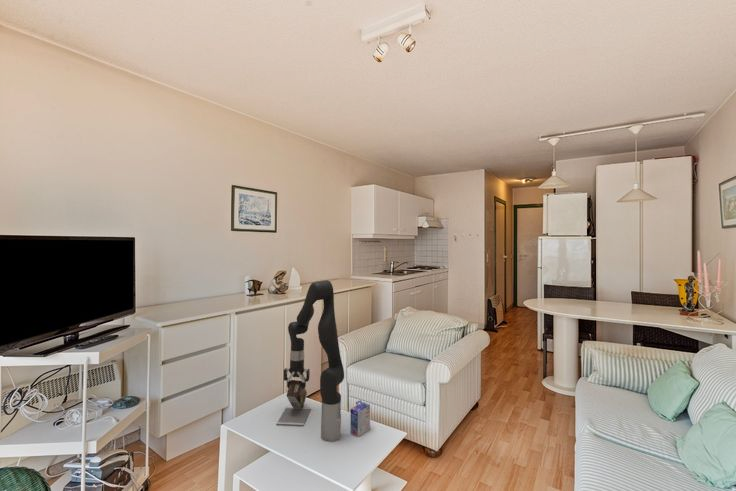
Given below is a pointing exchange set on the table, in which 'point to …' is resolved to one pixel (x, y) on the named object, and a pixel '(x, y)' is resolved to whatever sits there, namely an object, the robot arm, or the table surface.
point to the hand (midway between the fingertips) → (296, 388)
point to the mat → (293, 416)
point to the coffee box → (296, 394)
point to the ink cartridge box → (360, 418)
